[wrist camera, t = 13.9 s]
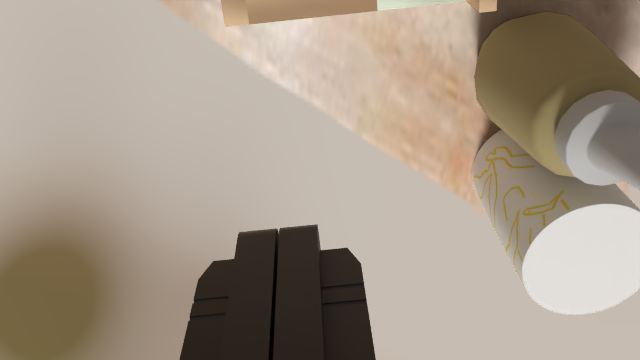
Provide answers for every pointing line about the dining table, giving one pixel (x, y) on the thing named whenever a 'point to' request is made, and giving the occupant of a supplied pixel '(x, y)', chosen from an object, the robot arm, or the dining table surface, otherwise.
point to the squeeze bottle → (562, 98)
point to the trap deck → (322, 8)
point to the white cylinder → (559, 230)
